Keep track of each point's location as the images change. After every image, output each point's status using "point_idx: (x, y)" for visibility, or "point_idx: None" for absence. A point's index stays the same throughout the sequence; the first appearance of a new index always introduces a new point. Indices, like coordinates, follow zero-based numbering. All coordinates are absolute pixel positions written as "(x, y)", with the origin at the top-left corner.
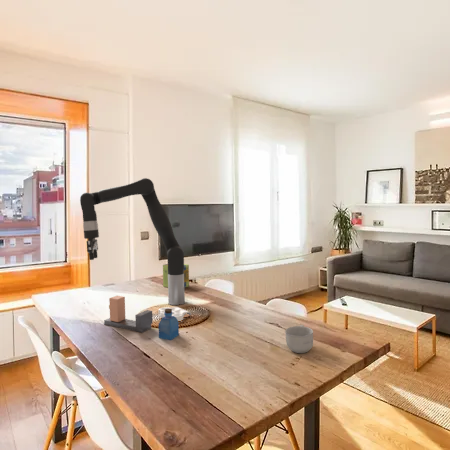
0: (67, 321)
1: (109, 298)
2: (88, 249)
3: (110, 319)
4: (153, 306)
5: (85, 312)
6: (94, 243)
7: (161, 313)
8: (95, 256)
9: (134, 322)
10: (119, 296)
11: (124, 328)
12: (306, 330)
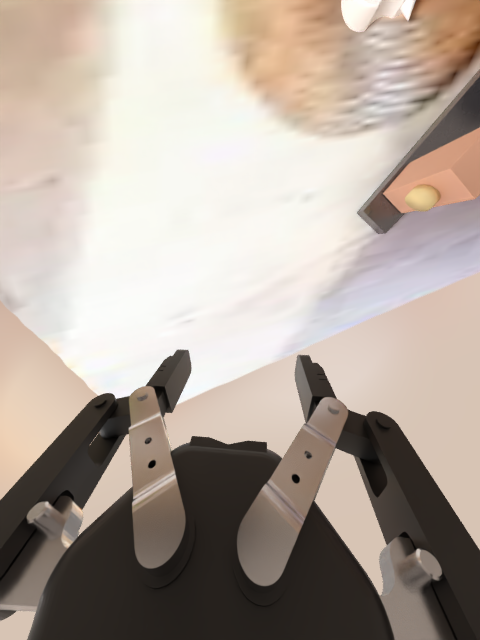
0: (321, 324)
1: (474, 198)
2: (371, 468)
3: (405, 211)
4: (247, 73)
5: (265, 302)
6: (303, 525)
7: None
8: (185, 365)
9: (457, 120)
10: (475, 151)
11: None
12: None
